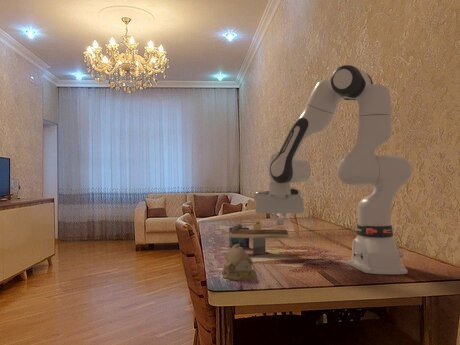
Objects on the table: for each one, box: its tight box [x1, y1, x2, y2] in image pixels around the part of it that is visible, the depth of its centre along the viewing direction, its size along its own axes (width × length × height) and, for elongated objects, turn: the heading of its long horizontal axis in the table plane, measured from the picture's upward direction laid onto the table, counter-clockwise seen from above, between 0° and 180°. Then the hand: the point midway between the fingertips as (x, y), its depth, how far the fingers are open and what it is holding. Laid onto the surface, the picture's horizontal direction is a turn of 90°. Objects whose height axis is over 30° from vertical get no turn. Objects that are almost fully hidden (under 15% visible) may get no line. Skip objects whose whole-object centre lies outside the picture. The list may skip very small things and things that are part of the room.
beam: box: [230, 225, 290, 255], centre depth 168 cm, size 6×24×11 cm, turn 86°
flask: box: [228, 222, 250, 249], centre depth 182 cm, size 9×3×11 cm, turn 73°
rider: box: [253, 220, 262, 231], centre depth 168 cm, size 3×3×5 cm
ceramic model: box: [221, 244, 257, 281], centre depth 130 cm, size 14×11×10 cm
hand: (279, 224), depth 167 cm, fingers closed
